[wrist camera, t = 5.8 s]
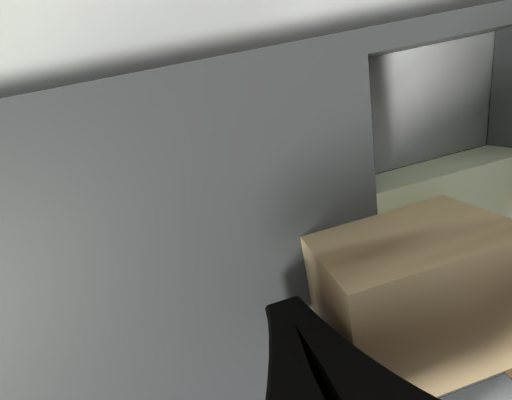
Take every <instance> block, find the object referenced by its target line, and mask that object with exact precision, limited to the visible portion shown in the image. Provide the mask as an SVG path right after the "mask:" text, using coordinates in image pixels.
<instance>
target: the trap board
mask: <svg viewBox="0 0 512 400" xmlns="http://www.w3.org/2000/svg"><path fill="white" fill-rule="evenodd" d="M493 31H496V34H495V47H494V60H493V73H492V86H491V99H490V112H489V125H488V138H487V145H485V146H481V147H477V148H474V149H470V150H466V151H462V152H459V153H455V154H451V155H447V156H443V157H440V158H436V159H432V160H428V161H425V162H421V163H417V164H413V165H409V166H406V167H402V168H398V169H394V170H391V171H387V172H383V173H379V174H375V163H374V146H373V129H372V113H371V96H370V80H369V63H368V58H369V57H374V56H378V55H383V54H388V53H393V52H397V51H402V50H407V49H412V48H417V47H421V46H426V45H431V44H436V43H440V42H445V41H450V40H455V39H460V38H464V37H469V36H474V35H479V34H483V33H488V32H493ZM443 195H445V196H447V197H450V198H453V199H456V200H459V201H462V202H465V203H468V204H471V205H474V206H477V207H480V208H482V209H485V210H488V211H491V212H494V213H497V214H500V215H503V216H506V217H509V218H512V0H502V1H497V2H492V3H487V4H482V5H477V6H472V7H466V8H461V9H456V10H451V11H446V12H441V13H436V14H431V15H425V16H420V17H415V18H410V19H405V20H400V21H395V22H389V23H384V24H379V25H374V26H369V27H364V28H359V29H354V30H348V31H343V32H338V33H333V34H328V35H323V36H318V37H312V38H307V39H302V40H297V41H292V42H287V43H282V44H277V45H271V46H266V47H261V48H256V49H251V50H246V51H241V52H236V53H230V54H225V55H220V56H215V57H210V58H205V59H200V60H194V61H189V62H184V63H179V64H174V65H169V66H164V67H159V68H153V69H148V70H143V71H138V72H133V73H128V74H123V75H117V76H112V77H107V78H102V79H97V80H92V81H87V82H82V83H76V84H71V85H66V86H61V87H56V88H51V89H46V90H41V91H35V92H30V93H25V94H20V95H15V96H10V97H5V98H0V400H265V398H266V389H267V377H268V363H269V330H268V320H267V316H266V312H265V308H266V306H267V305H269V304H272V303H275V302H278V301H282V300H285V299H288V298H291V297H294V296H298V297H300V298H301V299H302V300H303V301H304V302H305V303H306V304H307V305H308V306H309V307H310V308H311V309H312V303H311V297H310V291H309V285H308V280H307V274H306V268H305V262H304V257H303V251H302V245H301V239H300V237H301V236H304V235H308V234H311V233H315V232H318V231H322V230H325V229H329V228H332V227H336V226H339V225H343V224H346V223H349V222H353V221H356V220H360V219H363V218H367V217H370V216H374V215H377V214H381V213H384V212H388V211H391V210H395V209H398V208H402V207H405V206H408V205H412V204H415V203H419V202H422V201H426V200H429V199H433V198H436V197H440V196H443ZM312 310H313V309H312ZM504 373H505V374H506V375H507V376H509V377H510V378H511V379H512V368H511V369H509V370H506V371H503V372H501V373H498V374H496V375H493V376H490V377H488V378H485V379H482V380H480V381H477V382H475V383H472V384H469V385H467V386H464V387H462V388H459V389H456V390H454V391H451V392H449V393H446V394H443V395H441V396H438V397H437V398H441V397H444V396H447V395H449V394H452V393H454V392H457V391H460V390H462V389H465V388H468V387H470V386H473V385H475V384H478V383H481V382H483V381H486V380H489V379H491V378H494V377H496V376H499V375H502V374H504Z"/></svg>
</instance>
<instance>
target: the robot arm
mask: <svg viewBox="0 0 512 400" xmlns="http://www.w3.org/2000/svg"><path fill="white" fill-rule="evenodd" d="M265 312H266V316H267V320H268V330H269V363H268V377H267V389H266V398H265V400H441V399H439V398H437V397H435V396H433V395H431V394H429V393H428V392H426V391H424V390H422V389H420V388H418V387H417V386H415V385H413V384H412V383H410V382H408V381H407V380H405V379H403V378H402V377H400V376H398V375H397V374H395V373H393V372H392V371H390V370H389V369H387V368H386V367H384V366H383V365H381V364H380V363H378V362H377V361H375V360H374V359H372V358H371V357H369V356H368V355H367V354H365V353H364V352H362V351H361V350H360V349H358V348H357V347H356V346H354V345H353V344H352V343H350V342H349V341H348V340H347V339H345V338H344V337H343V336H342V335H340V334H339V333H338V332H337V331H336V330H334V329H333V328H332V327H331V326H329V325H328V324H327V323H326V322H325V321H324V320H323V319H321V318H320V317H319V316H318V315H317V314H316V313H315V312H314V311H313V310H312V309H311V308H310V307H309V306H308V305H307V304H306V303H305V302H304V301H303V300H302V299H301V298H300V297H298V296H294V297H291V298H288V299H285V300H282V301H278V302H275V303H272V304H269V305H267V306H266V308H265Z"/></svg>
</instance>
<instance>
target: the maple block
mask: <svg viewBox="0 0 512 400" xmlns="http://www.w3.org/2000/svg"><path fill="white" fill-rule="evenodd" d="M300 239H301V245H302V251H303V257H304V262H305V268H306V274H307V280H308V285H309V291H310V297H311V303H312V309H313V311H314V312H315V313H316V314H317V315H318V316H319V317H320V318H321V319H323V320H324V321H325V322H326V323H327V324H328V325H329V326H331V327H332V328H333V329H334V330H336V331H337V332H338V333H339V334H340V335H342V336H343V337H344V338H345V339H347V340H348V341H349V342H350V343H352V344H353V345H354V346H356V347H357V348H358V349H360V350H361V351H362V352H364V353H365V354H367V355H368V356H369V357H371V358H372V359H374V360H375V361H377V362H378V363H380V364H381V365H383V366H384V367H386V368H387V369H389V370H390V371H392V372H393V373H395V374H397V375H398V376H400V377H402V378H403V379H405V380H407V381H408V382H410V383H412V384H413V385H415V386H417V387H418V388H420V389H422V390H424V391H426V392H428V393H429V394H431V395H433V396H435V397H438V396H441V395H443V394H446V393H449V392H451V391H454V390H456V389H459V388H462V387H464V386H467V385H469V384H472V383H475V382H477V381H480V380H482V379H485V378H488V377H490V376H493V375H496V374H498V373H501V372H503V371H506V370H509V369H511V368H512V218H509V217H506V216H503V215H500V214H497V213H494V212H491V211H488V210H485V209H482V208H480V207H477V206H474V205H471V204H468V203H465V202H462V201H459V200H456V199H453V198H450V197H447V196H445V195H443V196H440V197H436V198H433V199H429V200H426V201H422V202H419V203H415V204H412V205H408V206H405V207H402V208H398V209H395V210H391V211H388V212H384V213H381V214H377V215H374V216H370V217H367V218H363V219H360V220H356V221H353V222H349V223H346V224H343V225H339V226H336V227H332V228H329V229H325V230H322V231H318V232H315V233H311V234H308V235H304V236H301V237H300Z"/></svg>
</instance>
